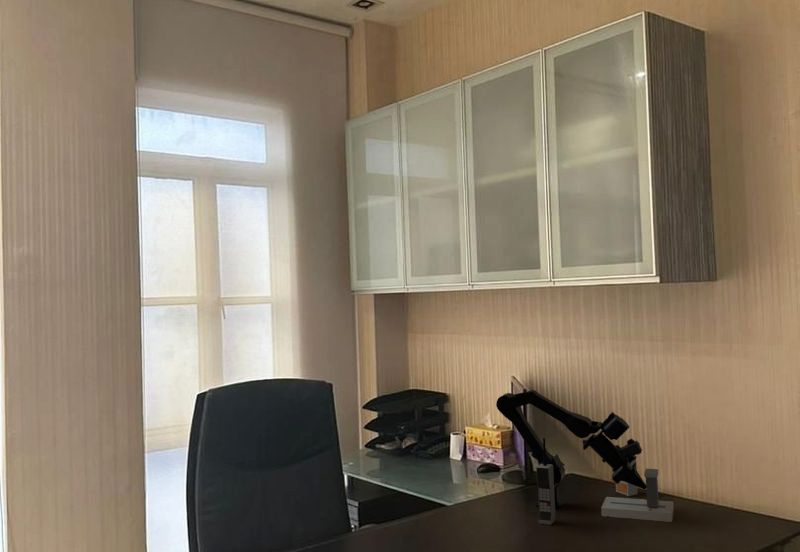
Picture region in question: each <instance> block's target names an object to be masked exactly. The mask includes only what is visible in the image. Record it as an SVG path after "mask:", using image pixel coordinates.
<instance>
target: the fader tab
mask: <svg viewBox="0 0 800 552" xmlns="http://www.w3.org/2000/svg"><path fill="white" fill-rule="evenodd" d="M643 474H644V478H645V484H646V489H645V490H646V492H645V493H646V500H647V507H655V508H658V504H659V501H660V500H659V484H658V483H659V481H658V479H659V478H658V477H659V468H645V469H644V473H643Z"/></svg>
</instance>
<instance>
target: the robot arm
mask: <svg viewBox="0 0 800 552" xmlns="http://www.w3.org/2000/svg"><path fill="white" fill-rule="evenodd" d="M495 405H496V409H497V411H498V412H499V413H501V415H503V416H504V418H506V419H507V420H508V421H509V422H511V423H512V424H513V426H514V428H515V429H516V430H517V431H518V433H519V435H520V436H521V438H522V439H523V441H524V442H525V444H526V446H528V448H529V450H530V451H531V453H532V454H533V456H534V457H535V459H536V460H537V464H538V466H539V465H540V464H543V463H544V459H543V453H544V450H543V441H541V439H540V438H539V436H538V435H537V433H536V431H535V430H534V428H533V427H532V426H531V424H530V422H529V421H528V420H527V418H526V416H525V414H524V412H523V408H522V407H523V406H526V405H532V406H534V407H535V408H537V409H539V411H542V412H544V413H545V414H546V415H549V416H550V417H552V418H554V419H555V420H557V421H559V422H560V423H561V424H563V425H564V426H565V428H566V429H567V430H568V431H570V432H571V433H572V434H573V435H574V436H576V437H577V438H579V439H583V440H582V446H583V447H582V450H584V451H586V450H587V449H588V448H589V447H590V448H591V450H592V451H594V452H595V453H596V454H597V455H598V456H599V457H600V458H601V459H602V460H601V462H602V463H606V464H607V465H608V466H609V467H611V469H612V470H611V471H612V474H611V479H612V481H613V482H614V483H615V485H616V484H618V483H619V482H620V481H624V482H627V483H630V484H632V485H635V486H637V488H640V489H642V490H646V482H645V481H644V480H643V478H642V476H641V475H640V473H639V471H637V462H636V463H634V464H633V465H632V464H630V463H631V462H632V461H633V460H635V459H636V460H637V458H638V457H637V455H640V454H642V452H643V449H642V447H641V445H640V442H639V441H638V440H634V439H633V438H630V439H627V441H626V445H624V446H621V445H619V444H614V443H613V442H612V441H613V440H614V441H617V440H619V439H620V437H622V436H623V434H625V433H626V432H627V431H628V430H629V429H630V425H629V423H628V422H626V420H625V419H624V418H623V417H620V416H619V415H617V414H616V413H615V412H613V411H612V412H611V413H609V415H608V416H607V418H606V419H604V421H603V422H601V421H595V420H592V419H591V418H589V417H588V416H585V415H582V414H579V413H577V412H573V411H570V410H568V409H566V408H564V407H563V406H561V405H559V404H557V403H555V401H552V400H551V399H549V398H547V397H546V396H544V395H542V394H540V393H539V392H538V391H537V390H536V389H535V390H534V389H529V391H528V390H527V391H525V392H520V393H515V394H514V393H510V392H506V393H504V394H503V395H501V396H499V397H498V398H497V399H496V404H495ZM600 430H601V431H600ZM598 432H599V433H598ZM589 436H590V437H589ZM585 438H587V439H585ZM545 449H546V462H547V464H551V465H553V475H554V496H555V509H557V508H559V507H561V506H563V505H564V503H563V502H560V491H559V490H560V489H559V483H560V482H561V481H562V480H563V479H564V477H565V474H566V469H565V467H564V466H565V463H564V462H562V459H560V457H559V454H558V453H557V454H555V455H553V454H551V453H550V452H549V451H548V449H547V448H546V447H545ZM536 485H537V487H538V484H537V483H536ZM535 507H538V508H539V502H538V503H536V504H535Z"/></svg>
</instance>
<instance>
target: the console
mask: <svg viewBox="0 0 800 552" xmlns="http://www.w3.org/2000/svg"><path fill="white" fill-rule="evenodd" d="M600 509H601V510H600V511H601V516H602V517H607V516H609V517H610V518H620V519H621V518H623V519H630V518H631V519H634V520H642V521H643V520H644V521H657V522H667V523H669V522H670V523H672V522H673V519H674V510H675V509H674V501H671V500H670V501H668V500H667V501H666V500H659V504H658V508H655V507H647V499H642V498H641V499H640V498H639V499H638V498H629V497H627V498H625V497H614V496H613V497H611V496H606V497H605V499H604V501H603V503H602V506H601V507H600ZM609 517H608V518H609Z"/></svg>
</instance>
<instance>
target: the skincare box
mask: <svg viewBox="0 0 800 552" xmlns="http://www.w3.org/2000/svg"><path fill="white" fill-rule="evenodd" d="M634 463H636V464H637V458H636V459H635V460H633V461H632V462H631V463H630V464H632V465H633V464H634ZM615 492H616V493H620V494H621V495H624V496H627V497H631V496H636V495H638V487H637V486H635V485H632V484H630V483H627V482H624V481H620V482H619V483H618V484H616V483H615Z"/></svg>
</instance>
